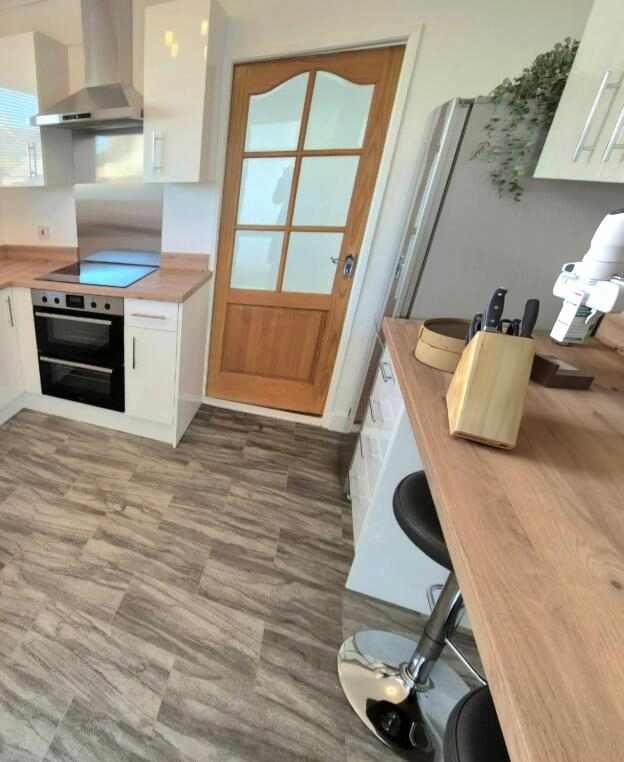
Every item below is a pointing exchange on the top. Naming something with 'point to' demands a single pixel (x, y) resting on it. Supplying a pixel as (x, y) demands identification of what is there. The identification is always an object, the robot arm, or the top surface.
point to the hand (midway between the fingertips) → (576, 319)
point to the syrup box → (573, 319)
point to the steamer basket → (443, 342)
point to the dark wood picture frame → (558, 373)
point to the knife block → (493, 376)
